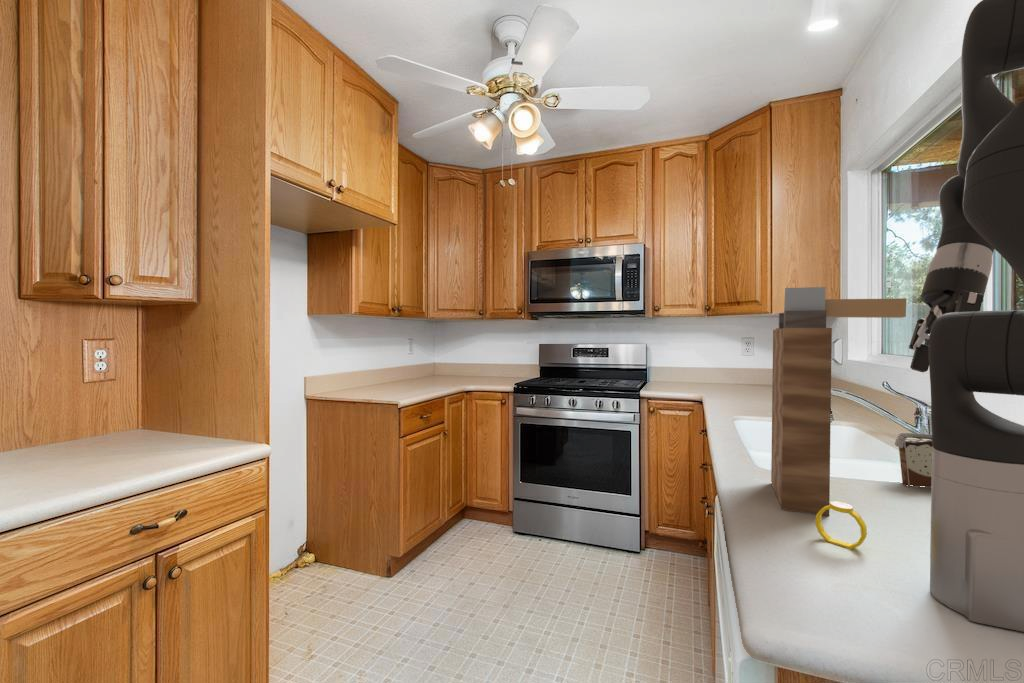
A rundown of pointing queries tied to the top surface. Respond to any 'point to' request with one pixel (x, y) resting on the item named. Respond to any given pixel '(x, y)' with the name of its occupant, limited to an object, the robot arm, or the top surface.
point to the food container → (915, 458)
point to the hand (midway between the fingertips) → (932, 364)
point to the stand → (801, 411)
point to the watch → (844, 509)
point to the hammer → (842, 304)
